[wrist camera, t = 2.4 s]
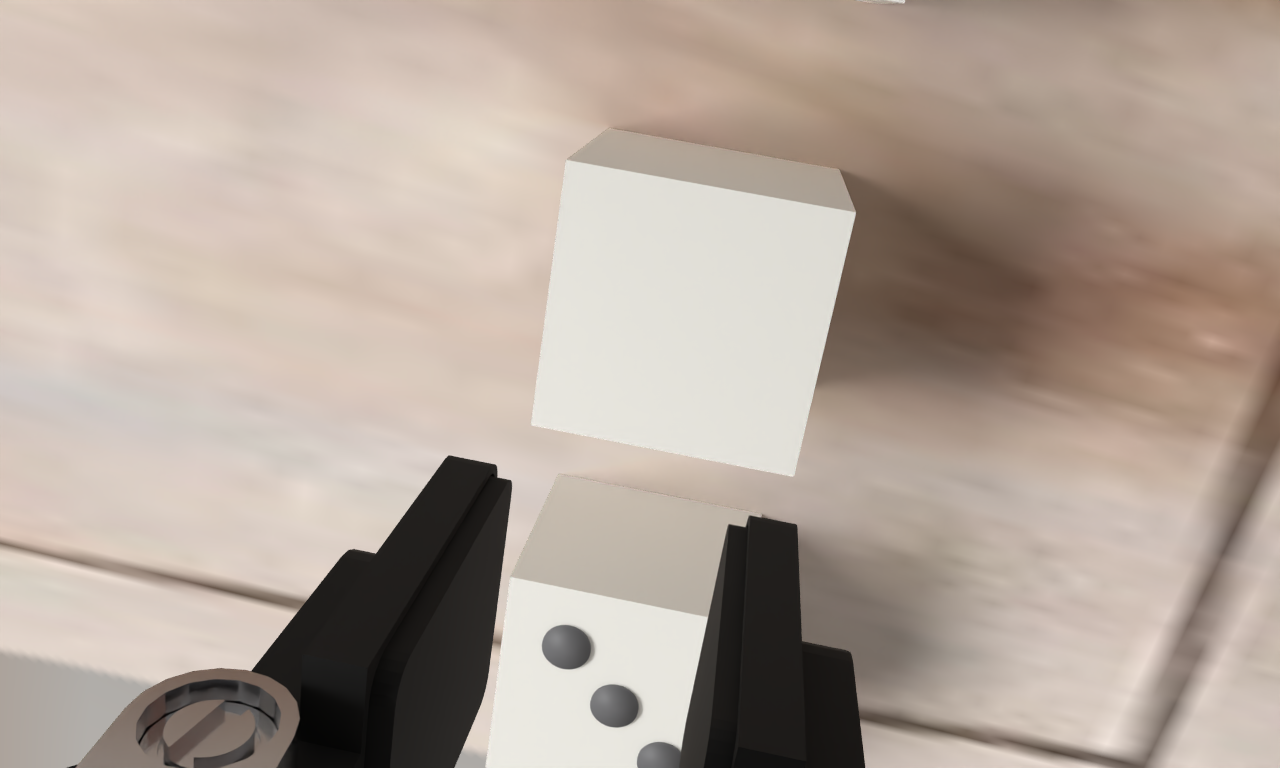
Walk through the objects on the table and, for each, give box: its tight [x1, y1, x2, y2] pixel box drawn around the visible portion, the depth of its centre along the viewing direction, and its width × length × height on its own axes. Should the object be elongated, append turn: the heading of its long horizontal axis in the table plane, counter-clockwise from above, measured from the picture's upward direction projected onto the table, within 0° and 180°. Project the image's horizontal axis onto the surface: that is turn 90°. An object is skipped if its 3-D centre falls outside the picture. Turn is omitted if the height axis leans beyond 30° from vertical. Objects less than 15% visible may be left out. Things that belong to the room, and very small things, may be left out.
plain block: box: [531, 128, 856, 477], centre depth 25 cm, size 6×6×6 cm
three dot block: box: [486, 474, 762, 768], centre depth 29 cm, size 6×6×6 cm
